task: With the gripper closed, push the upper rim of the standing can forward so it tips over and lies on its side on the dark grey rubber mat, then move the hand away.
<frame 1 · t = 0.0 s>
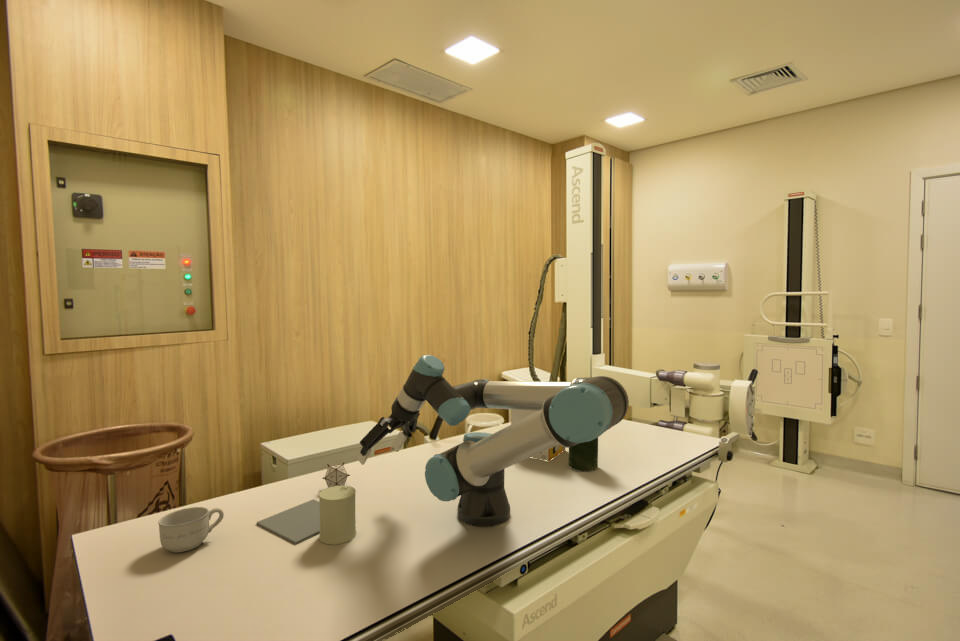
hand: (378, 454, 141), 15 cm above the table, tool tilted 35°, fingers open, 13 cm apart
packaging box: (538, 452, 191), on the table
green bottle: (582, 467, 174), on the table
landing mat: (305, 520, 132), on the table
game die: (336, 489, 154), on the table
teacup: (192, 545, 120), on the table
can: (338, 536, 124), on the table
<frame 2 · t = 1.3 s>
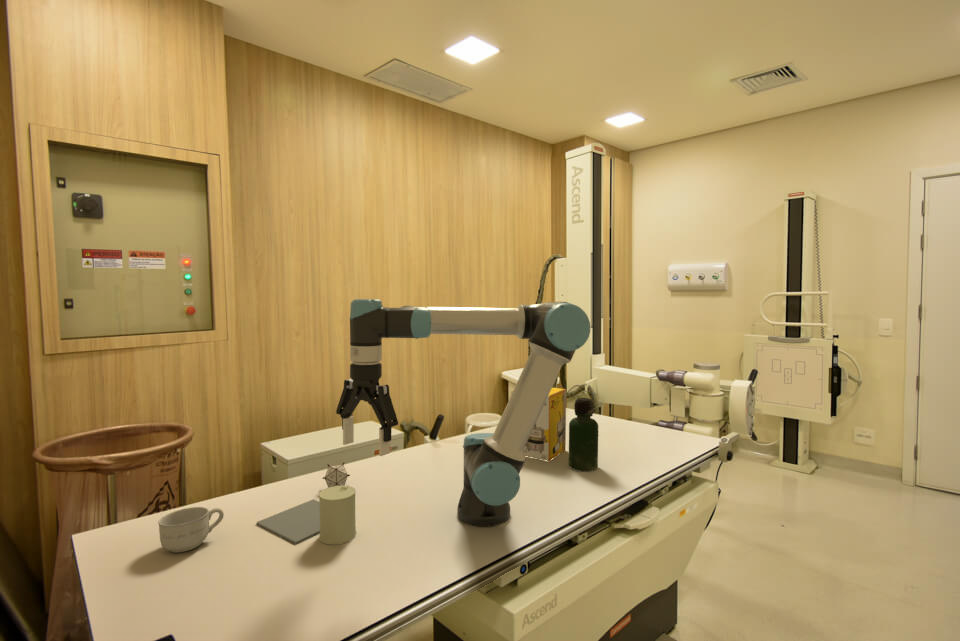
hand: (365, 448, 117), 25 cm above the table, tool pointing down, fingers open, 13 cm apart
nothing on the table moved.
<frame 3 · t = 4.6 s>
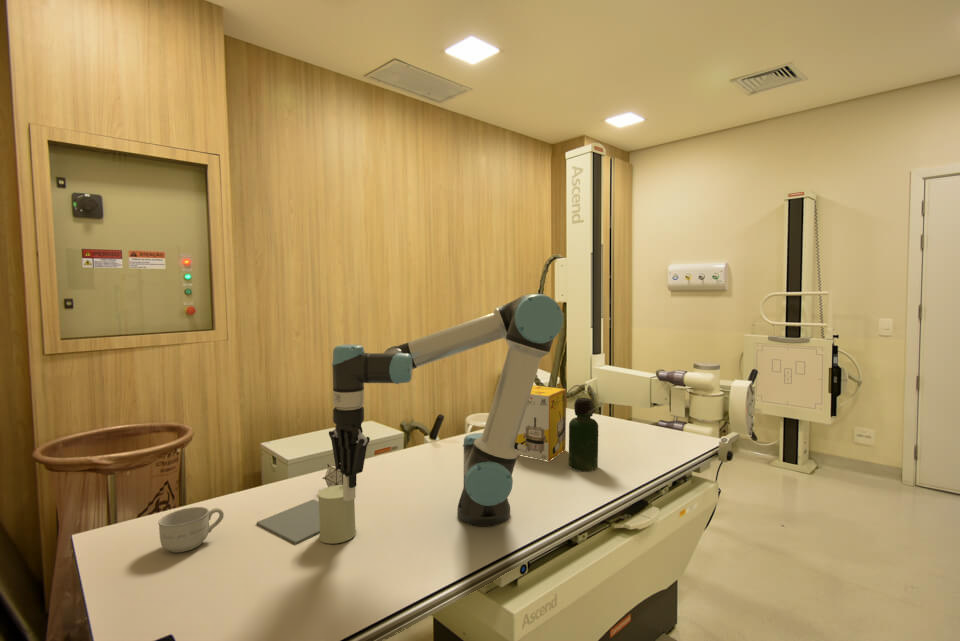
hand: (349, 498, 121), 11 cm above the table, tool pointing down, fingers closed
can: (338, 535, 124), on the table, touching gripper
everything else where it was.
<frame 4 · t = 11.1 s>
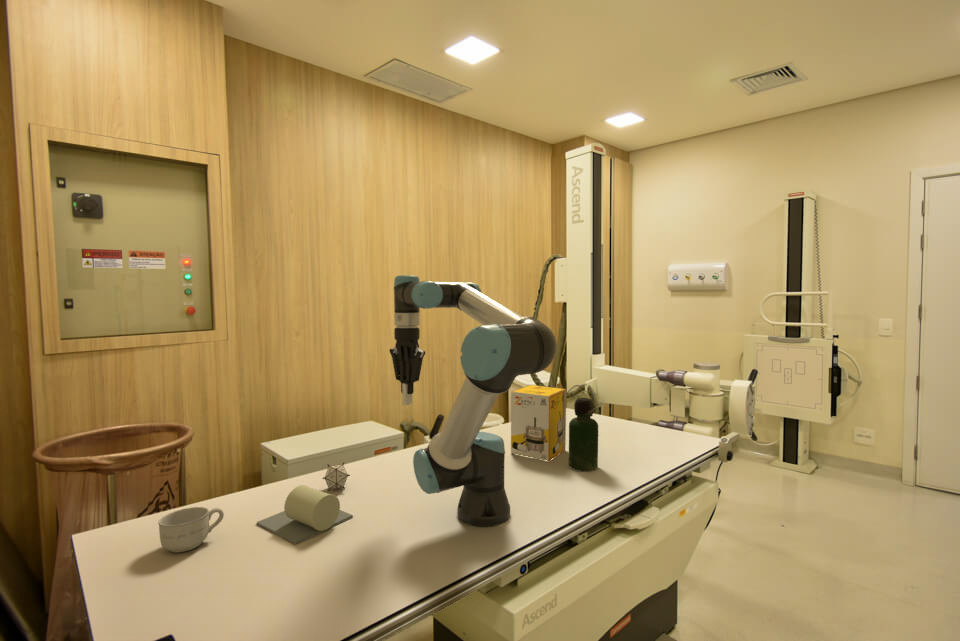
hand: (407, 404, 145), 29 cm above the table, tool pointing down, fingers closed
can: (327, 512, 126), point 5 cm above the table, touching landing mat
everything else where it was.
at the end: can tilted 89°; can inside the target area (7.9 cm from its centre), point 5.0 cm above the table; the gripper is holding nothing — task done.
